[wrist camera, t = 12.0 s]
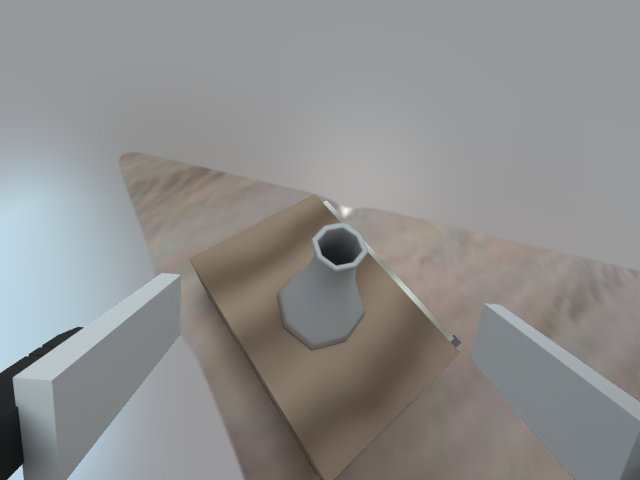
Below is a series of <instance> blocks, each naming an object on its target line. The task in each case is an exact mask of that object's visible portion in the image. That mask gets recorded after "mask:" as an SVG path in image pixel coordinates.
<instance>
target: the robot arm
mask: <svg viewBox="0 0 640 480" xmlns="http://www.w3.org/2000/svg"><path fill="white" fill-rule="evenodd" d="M180 297H181V275H178V274H167V273H161V274H160V275H159V276H157V277H156V278H154V279H153V280H151V281H150V282H149V283H147V284H146V285H144V286H143V287H141V288H140V289H139V290H137V291H136V292H134V293H133V294H131V295H130V296H129V297H127V298H126V299H124V300H123V301H121V302H120V303H119V304H117V305H116V306H114V307H113V308H111V309H110V310H109V311H107V312H106V313H104V314H103V315H102V316H100V317H99V318H97V319H96V320H94V321H93V322H91V323H90V324H89V325H87V326H86V327H84V328H83V327H77V328H74V329H72V330H69V331H67V332H65V333H62V334H59V335H57V336H56V337H54V338H53V339H52V340H50V341H48V342H47V343H45V344H44V345H42V347H41V348H38V349H36V350H35V351H33V352H32V353H30V354H29V356H28V357H27V356H26V357H24V358H22V359H21V360H19V361H18V362H16V363H15V364H13V365H12V366H10V367H9V368H7V369H6V370H4V371H3V372H1V373H0V480H7V479H8V478H9V477H10V476H11V475H12V474H13V473H14V472H15V471H16V470H17V469H18V468H19V467H20V466H21V465H23V475H24V480H67V478H68V477H69V476H70V475H71V473H72V472H73V471H74V469H75V468H76V467H77V466H78V464H79V463H80V462H81V460H82V459H83V458H84V457H85V455H86V454H87V453H88V452H89V450H90V449H91V448H92V446H93V445H94V444H95V443H96V441H97V440H98V439H99V437H100V436H101V435H102V433H103V432H104V431H105V430H106V428H107V427H108V426H109V424H110V423H111V422H112V421H113V420H114V418H115V417H116V416H117V414H118V413H119V412H120V411H121V409H122V408H123V407H124V405H125V404H126V403H127V402H128V400H129V399H130V398H131V397H132V395H133V394H134V393H135V391H136V390H137V389H138V388H139V386H140V385H141V384H142V382H143V381H144V380H145V379H146V377H147V376H148V375H149V373H150V372H151V371H152V370H153V368H154V367H155V366H156V364H157V363H158V362H159V361H160V359H161V358H162V357H163V356H164V354H165V353H166V352H167V350H168V349H169V348H170V347H171V345H172V344H173V343H174V342H175V340H176V339H177V338H178V336H179V335H180ZM470 359H471V360H472V361H473V363H474V364H475V365H476V366H477V367H478V368H479V369H480V371H481V372H482V373H483V374H484V375H485V376H486V378H487V379H488V380H489V381H490V382H491V383H492V385H493V386H494V387H495V388H496V389H497V390H498V391H499V393H500V394H501V395H502V396H503V397H504V398H505V400H506V401H507V402H508V403H509V404H510V405H511V407H512V408H513V409H514V410H515V411H516V412H517V413H518V415H519V416H520V417H521V418H522V419H523V420H524V422H525V423H526V424H527V425H528V426H529V427H530V429H531V430H532V431H533V432H534V433H535V434H536V435H537V437H538V438H539V439H540V440H541V441H542V442H543V444H544V445H545V446H546V447H547V448H548V449H549V451H550V452H551V453H552V454H553V455H554V456H555V457H556V459H557V460H558V461H559V462H560V463H561V464H562V466H563V467H564V468H565V469H566V470H567V471H568V473H569V474H570V475H571V476H572V477H573V478H574V479H575V480H640V402H639V401H638V400H636V399H635V398H633V397H632V396H630V395H629V394H627V393H626V392H625V391H623V390H622V389H620V388H619V387H617V386H616V385H615V384H613V383H612V382H610V381H609V380H607V379H606V378H605V377H603V376H602V375H600V374H599V373H597V372H596V371H594V370H593V369H592V368H590V367H589V366H587V365H586V364H584V363H583V362H582V361H580V360H579V359H577V358H576V357H574V356H573V355H572V354H570V353H569V352H567V351H566V350H564V349H563V348H561V347H560V346H559V345H557V344H556V343H554V342H553V341H551V340H550V339H549V338H547V337H546V336H544V335H543V334H541V333H540V332H539V331H537V330H536V329H534V328H533V327H531V326H530V325H528V324H527V323H526V322H524V321H523V320H521V319H520V318H518V317H517V316H516V315H514V314H513V313H511V312H510V311H508V310H507V309H506V308H504V307H503V306H501V305H496V304H485V303H484V305H483V309H482V313H481V317H480V321H479V325H478V329H477V333H476V338H475V342H474V346H473V350H472V354H471V358H470Z"/></svg>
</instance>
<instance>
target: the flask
mask: <svg viewBox="0 0 640 480" xmlns="http://www.w3.org/2000/svg"><path fill="white" fill-rule="evenodd" d="M311 242H312V246H313V249H314V256H313V258H312V260H311V261H310V263H309V264H307V265H306V266H304V267H303V268H301V269H300V270H299V271H298V272H297V273H296V274H295V275H294V276H293V277H292V278H291V279H290V280H289V282H288V283H287V284H286V285H285V286H284V287H283V288H282V289H281V290H280V291H279V292H278V293H277V298H278V302H279V307H280V311H281V315H282V320H283V324H284V327H285V328H286V329H287V330H288V331H290V332H291V333H292V334H293V335H294V336H296V337H297V338H298V339H299V340H301V341H302V342H303V343H304V344H305V345H307V346H308V347H309V348H310V349H312V350H314V349H318V348H322V347H325V346H329V345H333V344H336V343H340V342H344V341H347V339H348V338H349V337H350V335H351V334H352V332H353V331H354V329H355V328H356V327H357V325H358V324H359V322H360V321H361V319H362V318H363V317H364V315H365V310H364V307H363V304H362V301H361V298H360V295H359V291H358V287H357V283H356V267H357V266H358V265H359V264H360V262H361V261H362V260H363V259H364V257H365V256H366V255H367V254H368V249H367V246H366V244H365V242H364V239H363V237H362V234H361V233H360V232H358V231H357V230H355V229H354V228H352V227H351V226H349V225H348V224H346V223H345V222H342V223H336V224H330V225H324V227H323V228H322V229H321V230H320V231H319V232H318V233H317V234H316V235H315V236H314V237H313V238H312V239H311Z"/></svg>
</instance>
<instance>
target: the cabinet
mask: <svg viewBox="0 0 640 480" xmlns="http://www.w3.org/2000/svg"><path fill="white" fill-rule="evenodd" d="M342 222H345V223H346V224H348V223H347V222H346V221H345V219H344V218H343V217H342V216H341V215H340V214H339V213H338V212H337V211H336V210H335V209H334V208H333V206H332V205H331V204H330V203H329V202H328V201H325V202H322V201H321V200H320V199H319V198H318V197H317V195H316V194H315V195H313V196H311V197H309V198H307V199H305V200H303V201H301V202H299V203H297V204H295V205H293V206H291V207H289V208H287V209H286V210H284V211H282V212H280V213H278V214H276V215H274V216H272V217H270V218H268V219H266V220H264V221H262V222H260V223H258V224H256V225H254V226H252V227H250V228H248V229H246V230H245V231H243V232H241V233H239V234H237V235H235V236H233V237H231V238H229V239H227V240H225V241H223V242H221V243H219V244H217V245H215V246H213V247H211V248H209V249H207V250H206V251H204V252H202V253H200V254H198V255H196V256H194V257H192V258H190V259H189V260H190V262H191V263H192V265H193V267H194V269H195V271H196V273H197V275H198V277H199V279H200V281H201V283H202V285H203V287H204V289H205V291H206V293H207V294H208V296H209V298H210V299H211V301H212V303H213V304H214V306H215V308H216V309H217V311H218V313H219V314H220V316H221V318H222V319H223V321H224V322H225V324H226V326H227V327H228V329H229V331H230V332H231V334H232V336H233V337H234V339H235V341H236V342H237V344H238V345H239V347H240V349H241V350H242V352H243V354H244V355H245V357H246V359H247V360H248V362H249V364H250V365H251V367H252V369H253V370H254V372H255V373H256V375H257V377H258V378H259V380H260V382H261V383H262V385H263V387H264V388H265V390H266V392H267V393H268V395H269V396H270V398H271V400H272V401H273V403H274V405H275V406H276V408H277V410H278V411H279V413H280V415H281V416H282V418H283V420H284V421H285V423H286V424H287V426H288V428H289V429H290V431H291V433H292V434H293V436H294V438H295V439H296V441H297V443H298V444H299V446H300V447H301V449H302V451H303V452H304V454H305V456H306V457H307V459H308V461H309V462H310V464H311V466H312V467H313V469H314V470H315V472H316V473H317V474H318V475H319V476H320V477H321V479H322V480H334V479H335V478H336V477H337V476H338V475H339V474H340V473H341V472H342V471H343V470H344V469H345V468H346V467H347V466H348V465H349V464H350V463H351V462H352V461H353V460H354V459H355V458H356V457H357V456H358V455H359V454H360V453H361V452H362V451H363V450H364V449H365V448H366V447H367V446H368V445H369V444H370V443H371V442H372V441H373V440H374V439H375V438H376V437H377V436H378V435H379V434H380V433H381V432H382V431H383V430H384V429H385V428H386V427H387V426H388V425H389V424H390V423H391V422H392V421H393V420H394V419H395V418H396V417H397V416H398V415H399V414H400V413H401V412H402V411H403V410H404V409H405V408H406V407H407V405H408V404H409V403H410V402H411V401H412V400H413V399H414V398H415V397H416V396H417V395H418V394H419V393H420V392H421V391H422V390H423V389H424V388H425V387H426V386H427V385H428V384H429V383H430V382H431V381H432V380H433V379H434V378H435V377H436V376H437V375H438V374H439V373H440V372H441V371H442V370H443V369H444V368H445V367H446V366H447V365H448V364H449V363H450V362H451V361H452V360H453V359H454V358H455V357H456V356H457V355H458V354H459V353H460V352H459V351H458V350H457V349H456V347H457V346H458V345H459V344H460V343H461V342H460V341H459V340H458V338H457V337H456V336H455V335H453V336H452V335H451V334H450V333H449V332H448V331H447V330H446V329H445V328H444V327H443V325H442V324H441V323H440V322H439V321H438V320H437V319H436V318H435V317H434V316H433V315H432V314H431V313H430V311H429V310H428V309H427V308H426V307H425V306H424V305H423V304H422V303H421V302H420V301H419V300H418V298H417V297H416V296H415V295H414V294H413V293H412V292H411V291H410V290H409V289H408V288H407V287H406V285H405V284H404V283H403V282H402V281H401V280H400V279H399V278H398V277H397V276H396V275H395V274H394V272H393V271H392V270H391V269H390V268H389V267H388V266H387V265H386V264H385V263H384V262H383V261H382V259H381V258H380V257H379V256H378V255H377V254H376V253H375V252H374V251H373V250H372V249H371V248H370V247H369V245H368V244H367V243H366V242H365V241H364V242H365V244H366V246H367V249H368V254H367V255H366V256H365V257H364V259H363V260H362V261H361V262H360V264H359V265H358V266H357V267H356V283H357V287H358V291H359V295H360V298H361V301H362V304H363V307H364V310H365V315H364V317H363V318H362V319H361V321H360V322H359V324H358V325H357V327H356V328H355V329H354V331H353V332H352V334H351V335H350V337H349V338H348V339H347V341H344V342H340V343H336V344H333V345H329V346H325V347H322V348H318V349H314V350H312V349H310V348H309V347H308V346H307V345H305V344H304V343H303V342H302V341H301V340H299V339H298V338H297V337H296V336H294V335H293V334H292V333H291V332H290V331H288V330H287V329H286V328H285V327H284V324H283V320H282V315H281V311H280V307H279V302H278V298H277V293H278V292H279V291H280V290H281V289H282V288H283V287H284V286H285V285H286V284H287V283H288V282H289V280H290V279H291V278H292V277H293V276H294V275H295V274H296V273H297V272H298V271H299V270H300V269H301V268H303V267H304V266H306V265H307V264H309V263H310V261H311V260H312V258H313V256H314V249H313V246H312V242H311V239H312V238H313V237H314V236H315V235H316V234H317V233H318V232H319V231H320V230H321V229H322V228H323V227H324V225H330V224H336V223H342ZM348 225H349V224H348ZM349 226H350V225H349Z"/></svg>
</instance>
